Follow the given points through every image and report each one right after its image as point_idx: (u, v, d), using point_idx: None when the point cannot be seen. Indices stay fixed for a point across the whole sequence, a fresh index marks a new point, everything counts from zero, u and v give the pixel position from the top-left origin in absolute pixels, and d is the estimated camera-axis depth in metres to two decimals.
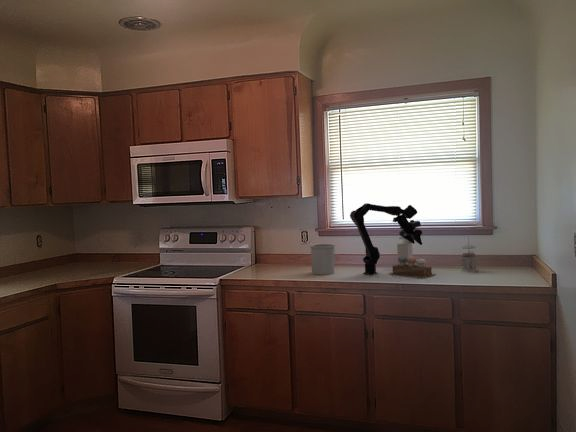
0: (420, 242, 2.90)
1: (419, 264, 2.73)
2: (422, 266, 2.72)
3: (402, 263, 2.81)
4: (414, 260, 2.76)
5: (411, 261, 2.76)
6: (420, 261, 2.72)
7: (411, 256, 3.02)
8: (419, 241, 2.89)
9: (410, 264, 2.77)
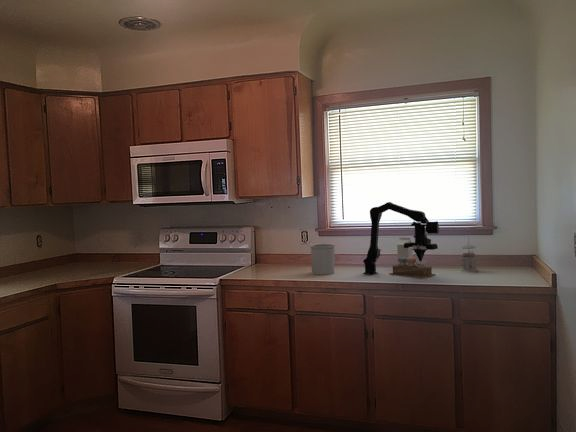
0: (421, 258, 2.73)
1: (419, 265, 2.73)
2: (422, 267, 2.72)
3: (402, 263, 2.81)
4: (414, 260, 2.76)
5: (411, 261, 2.76)
6: (420, 262, 2.72)
7: (411, 257, 3.01)
8: (422, 256, 2.73)
9: (410, 264, 2.77)
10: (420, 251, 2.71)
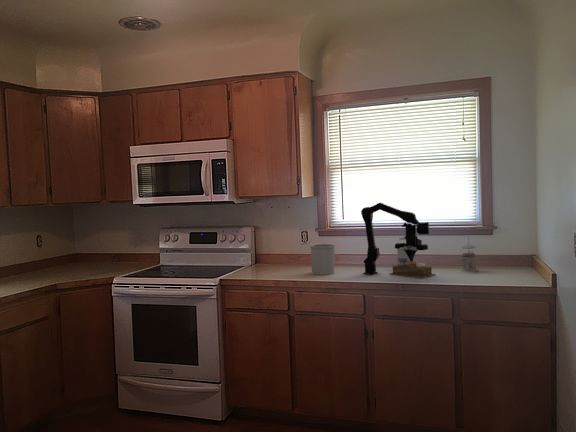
0: (412, 258, 2.78)
1: None
2: None
3: (402, 263, 2.81)
4: (414, 263, 2.76)
5: (411, 264, 2.76)
6: (420, 265, 2.72)
7: None
8: (412, 256, 2.77)
9: None
10: (411, 252, 2.75)
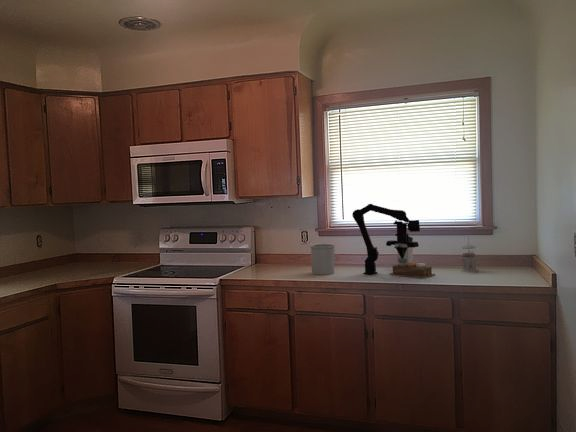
0: (403, 255, 2.82)
1: None
2: None
3: (402, 264, 2.81)
4: (414, 264, 2.76)
5: (411, 265, 2.76)
6: (420, 265, 2.72)
7: (411, 257, 3.01)
8: (403, 254, 2.81)
9: None
10: (402, 249, 2.79)
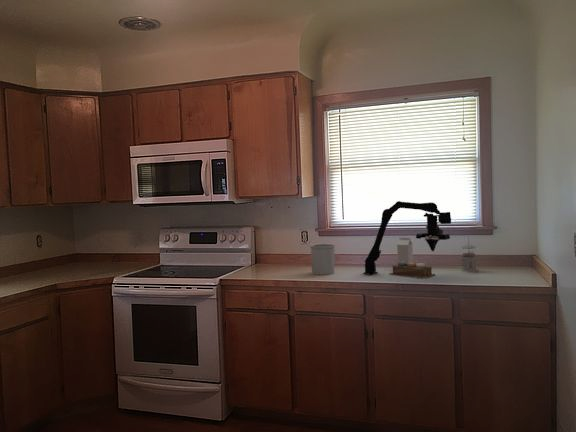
0: (434, 248, 2.78)
1: None
2: None
3: None
4: (414, 264, 2.76)
5: (411, 265, 2.76)
6: (420, 265, 2.72)
7: (411, 257, 3.01)
8: (434, 246, 2.78)
9: None
10: (432, 241, 2.76)
